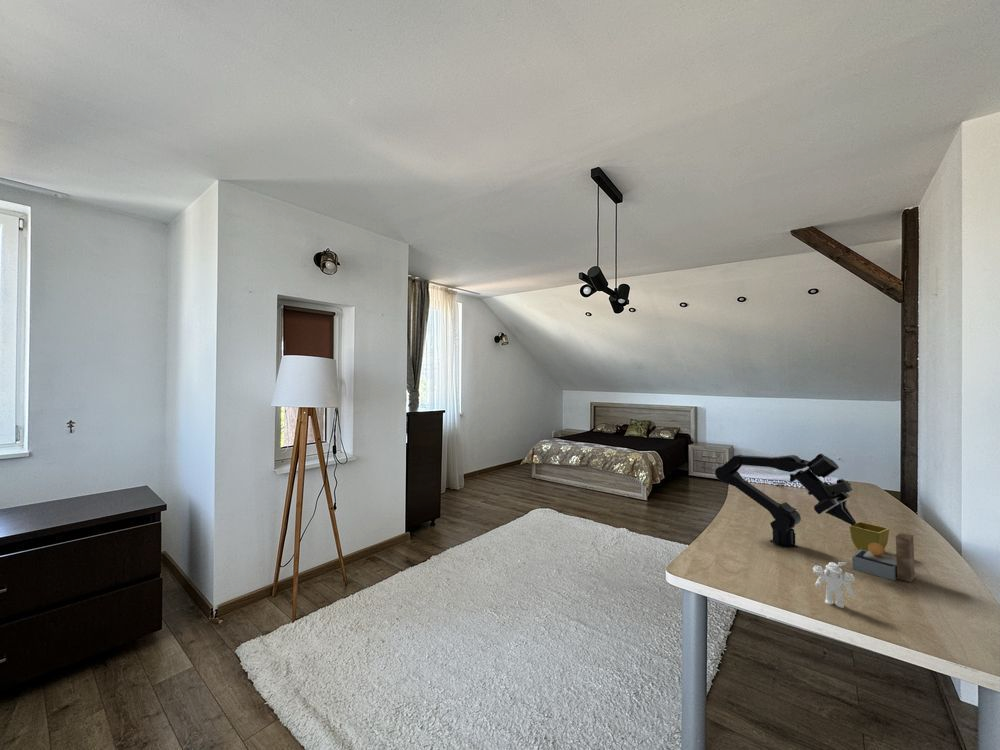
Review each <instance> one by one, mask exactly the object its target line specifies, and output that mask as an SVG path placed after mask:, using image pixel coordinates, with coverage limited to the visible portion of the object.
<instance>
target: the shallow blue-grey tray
mask: <svg viewBox="0 0 1000 750" xmlns="http://www.w3.org/2000/svg"><path fill="white" fill-rule="evenodd" d="M866 552H867V551H865V550H861V549H860V550H858V551H857V552H856V553H855V554H853V555H852V557H851V562H852V564H851V565H852V568H851V569H852V570H856V571H860V572H863V573H866V574H869V575H872V576H873V575H874V576H877V577H880V578H883V579H886V580H890V581H896V580H897V579H898V578H897V566H896V565H893V564H889V563H885V562H881V561H877V560H873V559H870V558H866V557H863V555H864V554H865V553H866Z"/></svg>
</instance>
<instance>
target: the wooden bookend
mask: <svg viewBox="0 0 1000 750" xmlns="http://www.w3.org/2000/svg"><path fill="white" fill-rule="evenodd" d="M914 542H915V541H914V535H913V534H909V533H904V532H899V533H897V535H896V536H895V550H896V551H895V552H896V556H894V555H893V556H892V555H889V554H885V553H884V554H883V555H881V556H876V555H873V554H872V553H870V551H867V552H866V553H865V554H864V555H863V557H866V558H870V559H873V560H877V561H881V562H885V563H889V564H893V565H896V566H897V578H896V579H897V580H901V581H906V582H909V583H912V581H913V580H914V578H915V576H916V575H915V552H914V550H915V546H914V544H915V543H914Z"/></svg>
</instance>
